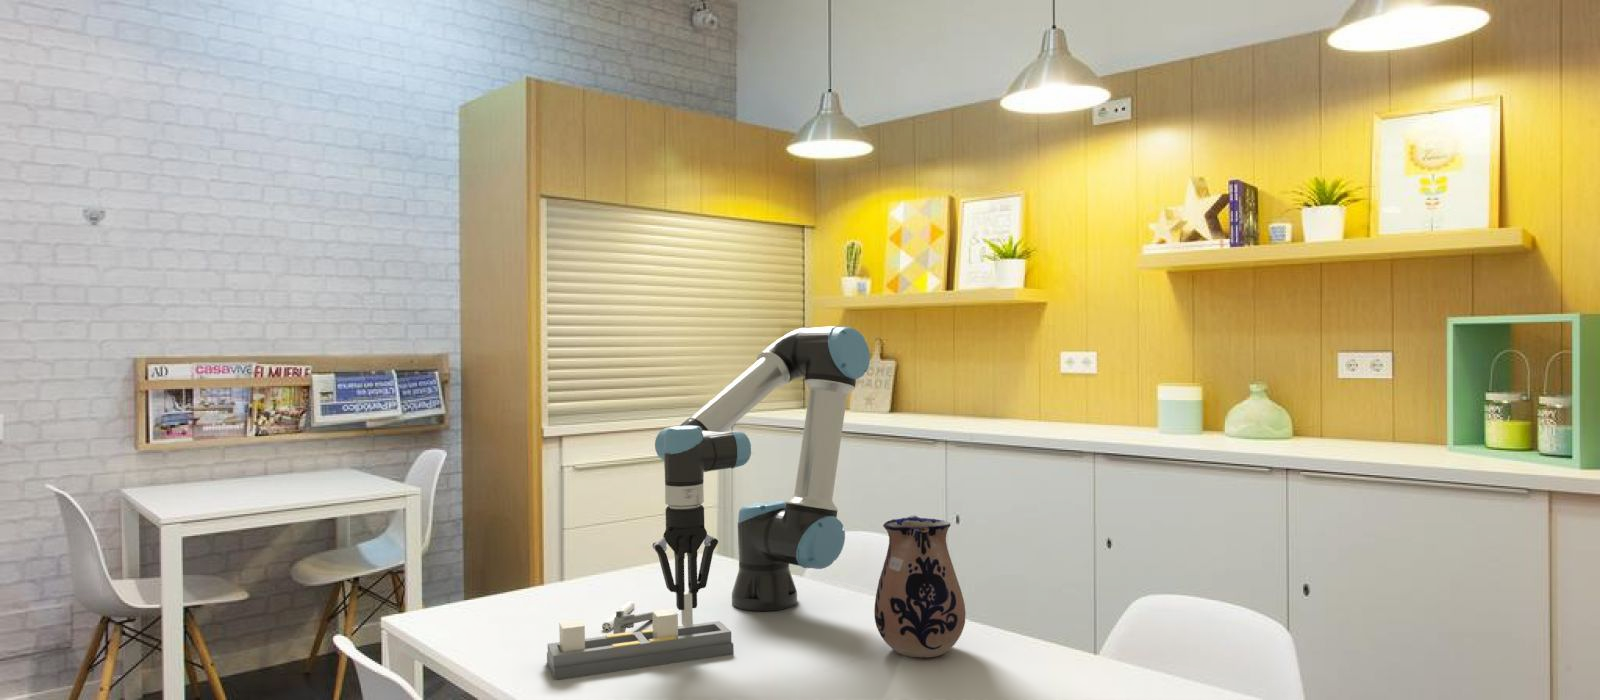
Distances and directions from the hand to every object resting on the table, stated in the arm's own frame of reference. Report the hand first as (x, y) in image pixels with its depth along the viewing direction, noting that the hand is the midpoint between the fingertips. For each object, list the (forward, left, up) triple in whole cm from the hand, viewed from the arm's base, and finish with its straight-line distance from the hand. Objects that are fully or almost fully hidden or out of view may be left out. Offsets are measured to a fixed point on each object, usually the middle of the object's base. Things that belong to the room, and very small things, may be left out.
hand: (687, 625), depth 187 cm
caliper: (+5, -19, -6) cm, 20 cm away
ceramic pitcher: (-42, +17, -5) cm, 45 cm away
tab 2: (+4, 0, -3) cm, 5 cm away
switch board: (+9, 0, -5) cm, 11 cm away
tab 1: (+22, 0, -3) cm, 22 cm away
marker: (+7, -28, -6) cm, 29 cm away
